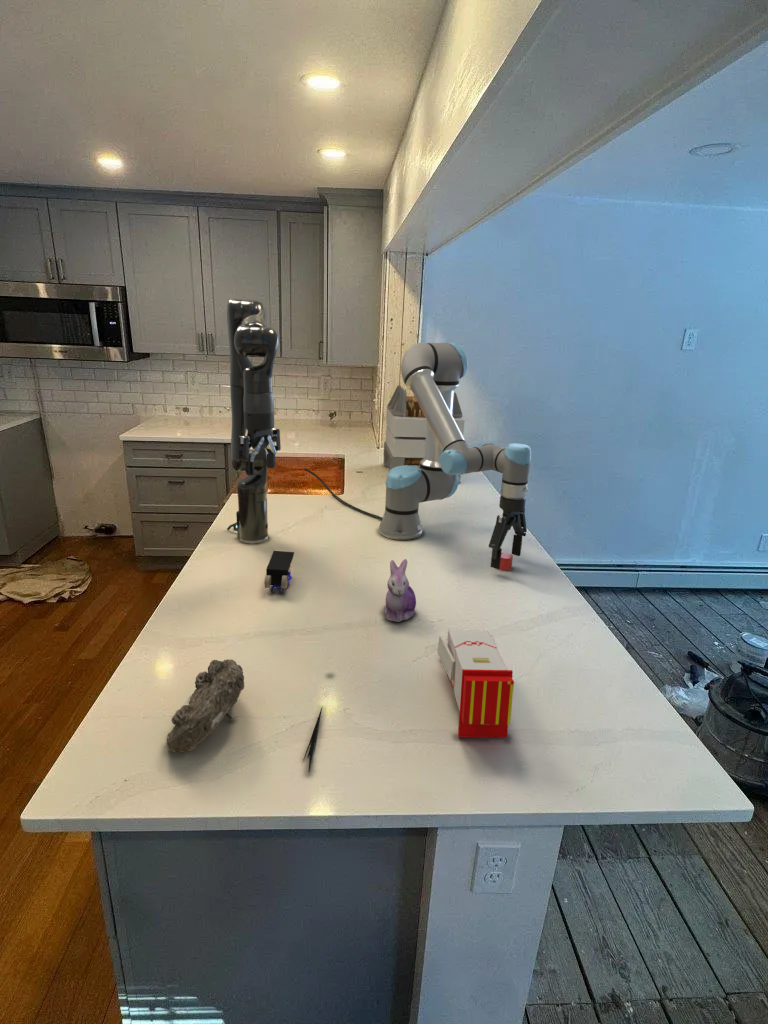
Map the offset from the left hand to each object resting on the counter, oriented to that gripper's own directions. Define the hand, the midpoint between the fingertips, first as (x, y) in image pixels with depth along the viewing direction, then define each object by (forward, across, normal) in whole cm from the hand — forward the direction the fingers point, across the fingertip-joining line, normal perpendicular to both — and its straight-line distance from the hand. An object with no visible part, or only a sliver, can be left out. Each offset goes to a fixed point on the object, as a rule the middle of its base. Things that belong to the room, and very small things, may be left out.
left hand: (260, 471), depth 149 cm
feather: (+33, +39, +44) cm, 68 cm away
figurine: (+33, -5, +40) cm, 52 cm away
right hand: (+31, -48, +56) cm, 80 cm away
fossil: (+33, +49, +26) cm, 64 cm away
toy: (+33, +16, +67) cm, 76 cm away
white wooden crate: (+33, -131, -10) cm, 136 cm away
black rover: (+33, -2, +4) cm, 33 cm away
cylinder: (+33, -48, +56) cm, 81 cm away
